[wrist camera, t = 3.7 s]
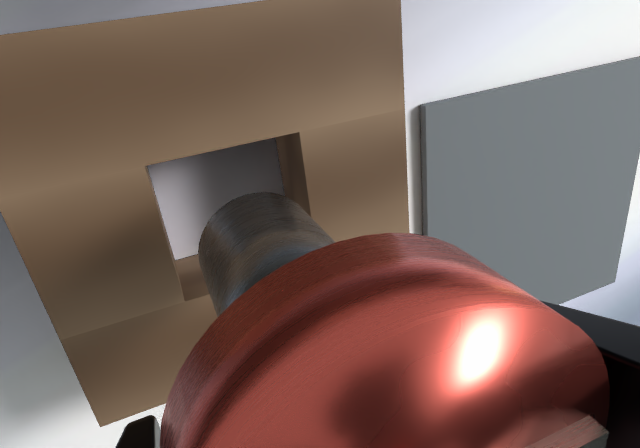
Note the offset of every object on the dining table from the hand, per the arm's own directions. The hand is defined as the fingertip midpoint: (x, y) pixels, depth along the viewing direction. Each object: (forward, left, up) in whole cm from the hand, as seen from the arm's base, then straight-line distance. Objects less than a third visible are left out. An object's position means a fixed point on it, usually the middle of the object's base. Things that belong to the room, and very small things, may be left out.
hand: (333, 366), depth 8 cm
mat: (-5, -15, -10) cm, 19 cm away
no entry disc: (0, 0, -5) cm, 5 cm away
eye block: (0, 0, -10) cm, 10 cm away
